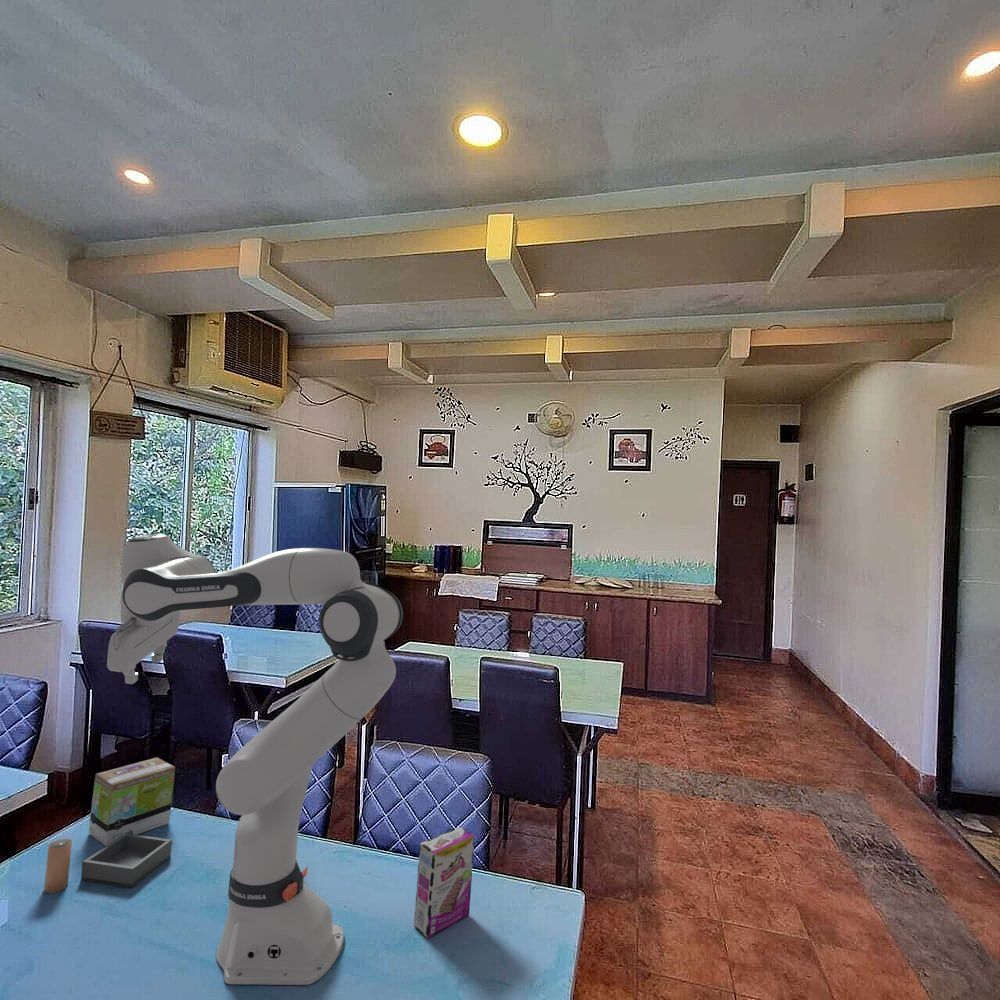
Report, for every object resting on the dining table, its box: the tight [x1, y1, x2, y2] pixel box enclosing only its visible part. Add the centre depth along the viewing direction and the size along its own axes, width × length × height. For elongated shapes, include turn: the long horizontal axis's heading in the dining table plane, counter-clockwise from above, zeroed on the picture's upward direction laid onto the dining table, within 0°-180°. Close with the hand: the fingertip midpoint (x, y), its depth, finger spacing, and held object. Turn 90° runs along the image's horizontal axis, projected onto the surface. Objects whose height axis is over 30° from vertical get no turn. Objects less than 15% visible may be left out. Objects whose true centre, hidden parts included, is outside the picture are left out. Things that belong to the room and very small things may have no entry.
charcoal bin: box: [80, 833, 173, 889], centre depth 129 cm, size 12×12×4 cm
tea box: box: [88, 756, 176, 847], centre depth 146 cm, size 15×10×15 cm, turn 147°
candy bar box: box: [413, 826, 476, 939], centre depth 118 cm, size 11×5×16 cm, turn 135°
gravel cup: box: [43, 837, 73, 894], centre depth 121 cm, size 4×4×9 cm
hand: (144, 671), depth 122 cm, fingers open, 8 cm apart
